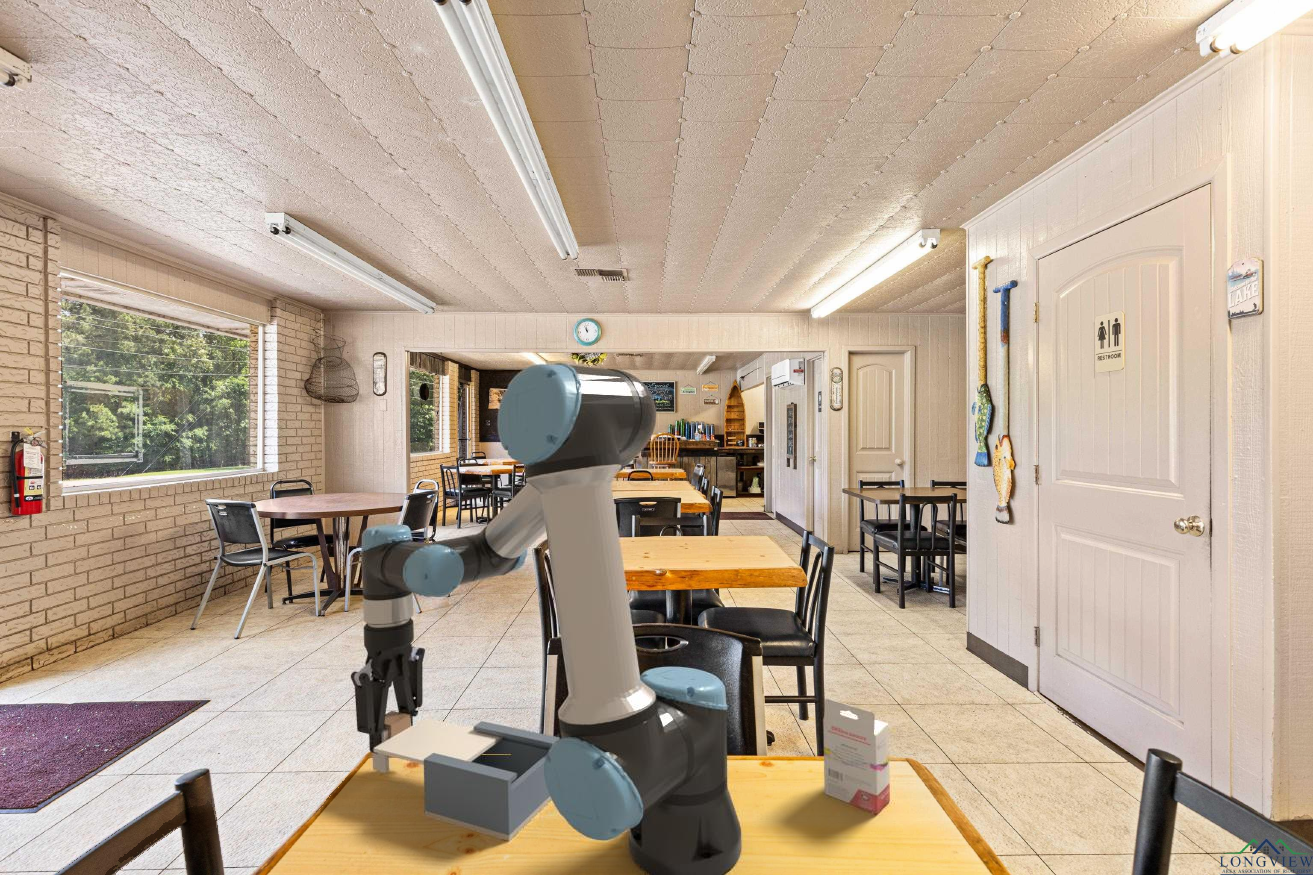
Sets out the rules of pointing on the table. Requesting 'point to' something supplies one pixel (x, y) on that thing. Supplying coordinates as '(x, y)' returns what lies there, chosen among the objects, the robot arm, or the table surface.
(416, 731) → the lid
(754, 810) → the table surface
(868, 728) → the ink cartridge box
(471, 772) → the grey open box
